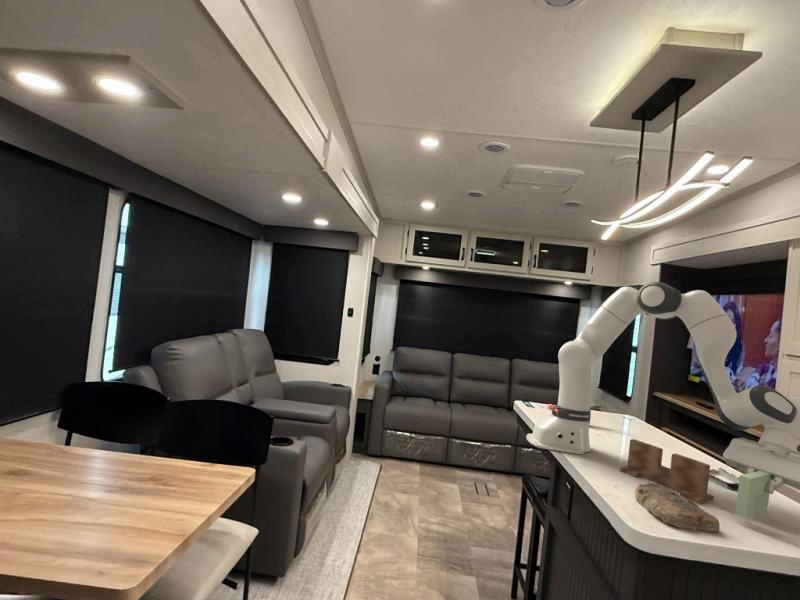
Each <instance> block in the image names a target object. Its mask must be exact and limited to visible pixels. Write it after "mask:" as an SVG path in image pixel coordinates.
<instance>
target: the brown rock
mask: <svg viewBox="0 0 800 600" xmlns="http://www.w3.org/2000/svg"><path fill="white" fill-rule="evenodd" d="M634 493H635V499H636V501H637V503H638V504H640V505H641V507H642V508H644V507H645V508H644V509H646V511H647V512H648V513H650V512H651V514H653V515H654V516H655V517H656V518H658V519H660V520H661V521H662V522H663V523H665V524H667V525H670V526H674V527H676V528H679V529H681V530H687V531H693V530H695V531H694V532H696V531H704V532H707V533H714V534H715V533H716V534H718V533H719V532H720V521H719V520H718V518H717V517H716V516H715V515H712V514H710V513H709V512H707V511H705V510H704V509H702V507H700V506H699V504H697V503H695V502H693V501H690V500H688V499H686V498H685V497H683V496H681V495H680V493H676V492H675V491H674V490H673V489H670V488H668V487H665V486H663V485H661V484H658V483H651V482H650V483H646V484H644V483H641V484H638V486H637V487H635V490H634ZM696 529H697V530H696Z"/></svg>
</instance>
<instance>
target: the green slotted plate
mask: <svg viewBox="0 0 800 600" xmlns="http://www.w3.org/2000/svg"><path fill="white" fill-rule="evenodd" d="M739 477H740V480H739V489H737V490H738V491H737V500H736V507H735V508H736V509H735V516H738V517H741V518H743V519H745V520H747V519H749V518H753V517H754V515H755V513H757V514H758V515H759V514H760V515H761V514H764V513H767V512H768V509H769V499H770V494H769V493H767V492H765V490H764V487H765V485H766V483H767V484H772V480H771V474H769V473H766V472H763V471H756V472H751V473H748V472H747V473H744V474H743V473H742V474H740V475H739Z"/></svg>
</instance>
